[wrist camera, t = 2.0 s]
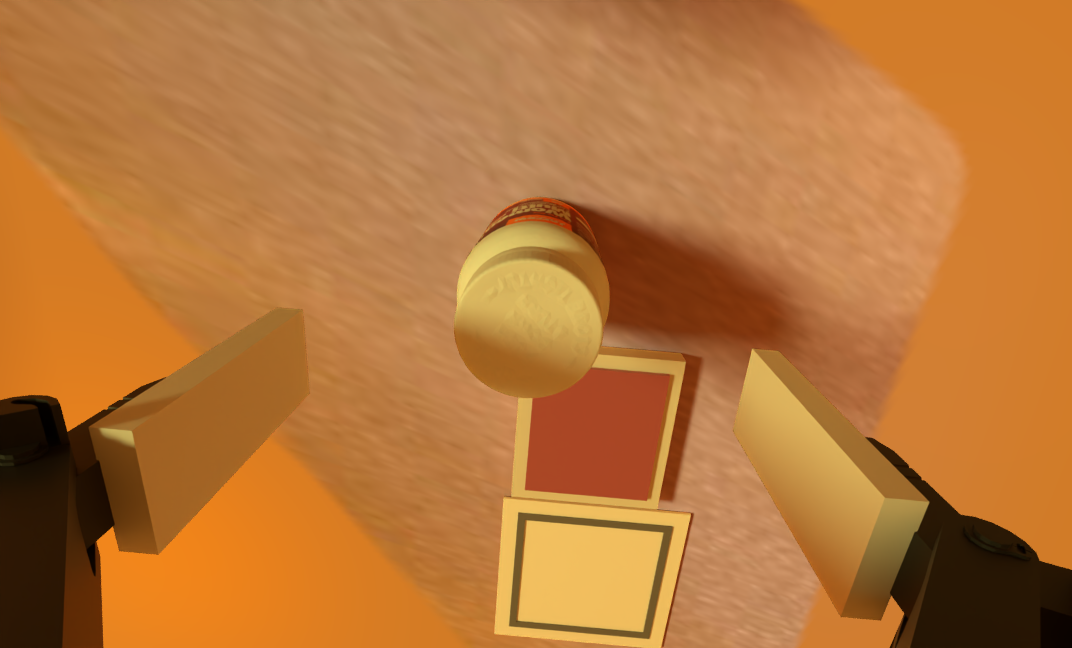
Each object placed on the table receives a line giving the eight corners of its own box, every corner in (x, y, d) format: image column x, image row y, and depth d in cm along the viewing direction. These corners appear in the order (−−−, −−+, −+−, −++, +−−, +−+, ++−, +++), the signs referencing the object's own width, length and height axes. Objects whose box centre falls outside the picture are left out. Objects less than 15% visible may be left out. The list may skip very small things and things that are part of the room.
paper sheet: (504, 496, 34) (503, 499, 34) (690, 512, 34) (691, 516, 34) (494, 631, 38) (494, 635, 38) (660, 646, 38) (660, 650, 38)
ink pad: (523, 339, 30) (522, 349, 29) (681, 353, 30) (687, 364, 29) (512, 484, 34) (510, 499, 32) (653, 496, 34) (658, 512, 32)
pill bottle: (568, 175, 27) (575, 208, 16) (614, 281, 29) (647, 372, 18) (462, 226, 28) (404, 288, 17) (512, 325, 30) (488, 435, 19)
